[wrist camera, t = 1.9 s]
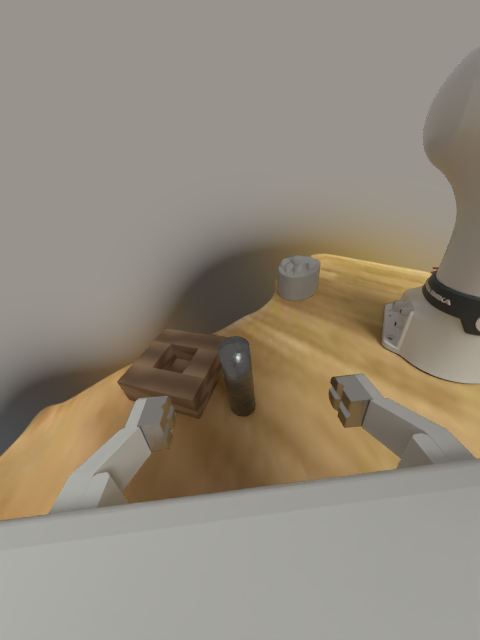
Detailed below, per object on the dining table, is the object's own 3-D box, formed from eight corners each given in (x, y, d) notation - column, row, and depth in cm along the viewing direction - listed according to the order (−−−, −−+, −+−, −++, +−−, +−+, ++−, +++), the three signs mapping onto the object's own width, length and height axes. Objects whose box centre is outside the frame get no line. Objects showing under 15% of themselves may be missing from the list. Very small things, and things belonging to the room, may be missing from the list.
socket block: (172, 345, 49) (165, 328, 46) (229, 355, 45) (226, 336, 42) (129, 399, 39) (117, 381, 36) (199, 418, 34) (192, 400, 31)
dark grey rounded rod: (235, 391, 37) (224, 334, 30) (258, 396, 36) (252, 338, 29) (227, 413, 35) (212, 355, 27) (251, 419, 33) (243, 360, 26)
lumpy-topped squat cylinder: (321, 282, 65) (324, 254, 60) (307, 304, 57) (310, 273, 51) (287, 277, 70) (288, 251, 65) (270, 297, 61) (270, 268, 56)
